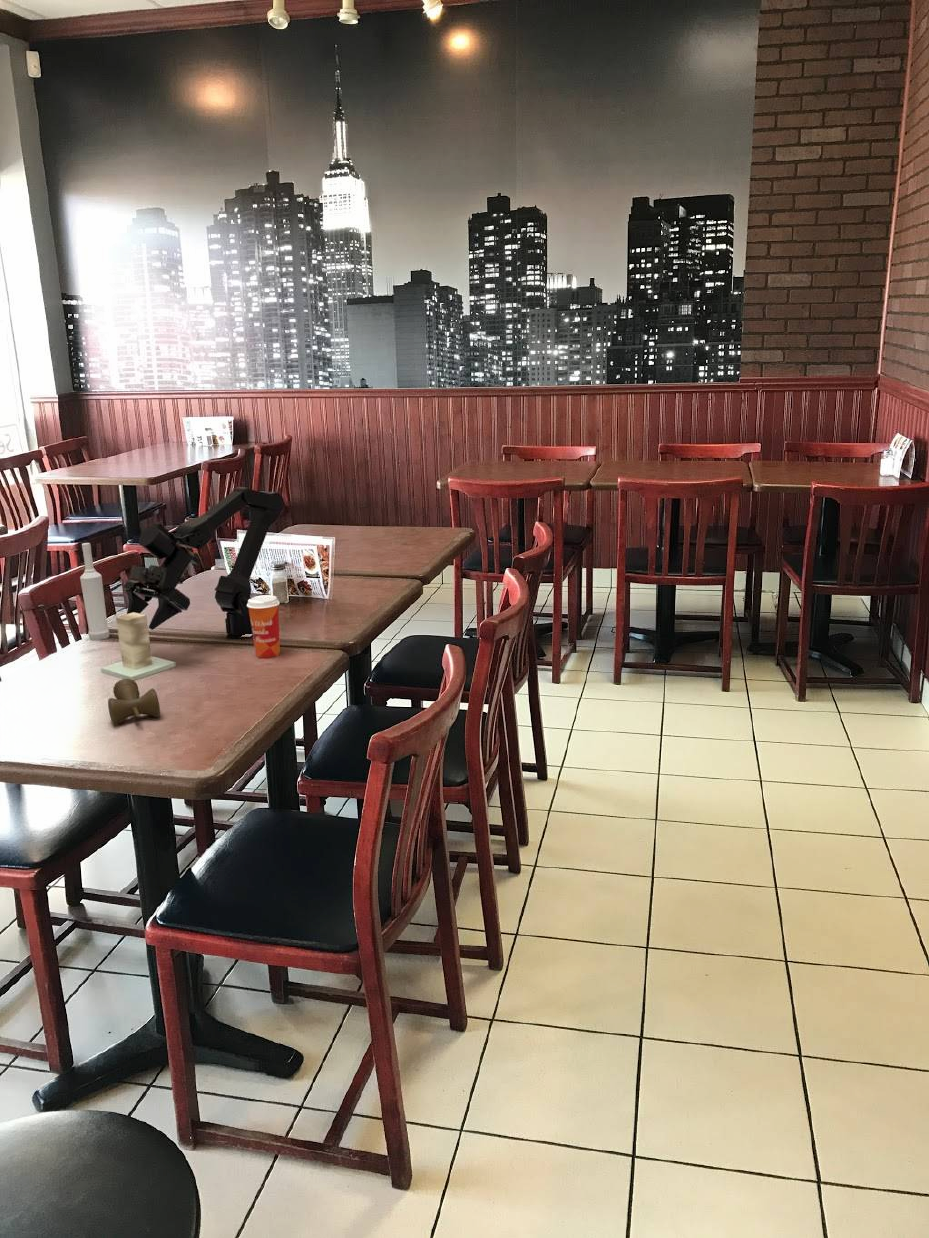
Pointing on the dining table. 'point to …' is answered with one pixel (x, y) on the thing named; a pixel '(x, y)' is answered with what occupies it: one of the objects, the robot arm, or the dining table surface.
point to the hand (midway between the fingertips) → (138, 625)
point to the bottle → (93, 598)
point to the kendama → (131, 702)
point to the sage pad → (139, 673)
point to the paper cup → (265, 625)
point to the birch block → (134, 640)
